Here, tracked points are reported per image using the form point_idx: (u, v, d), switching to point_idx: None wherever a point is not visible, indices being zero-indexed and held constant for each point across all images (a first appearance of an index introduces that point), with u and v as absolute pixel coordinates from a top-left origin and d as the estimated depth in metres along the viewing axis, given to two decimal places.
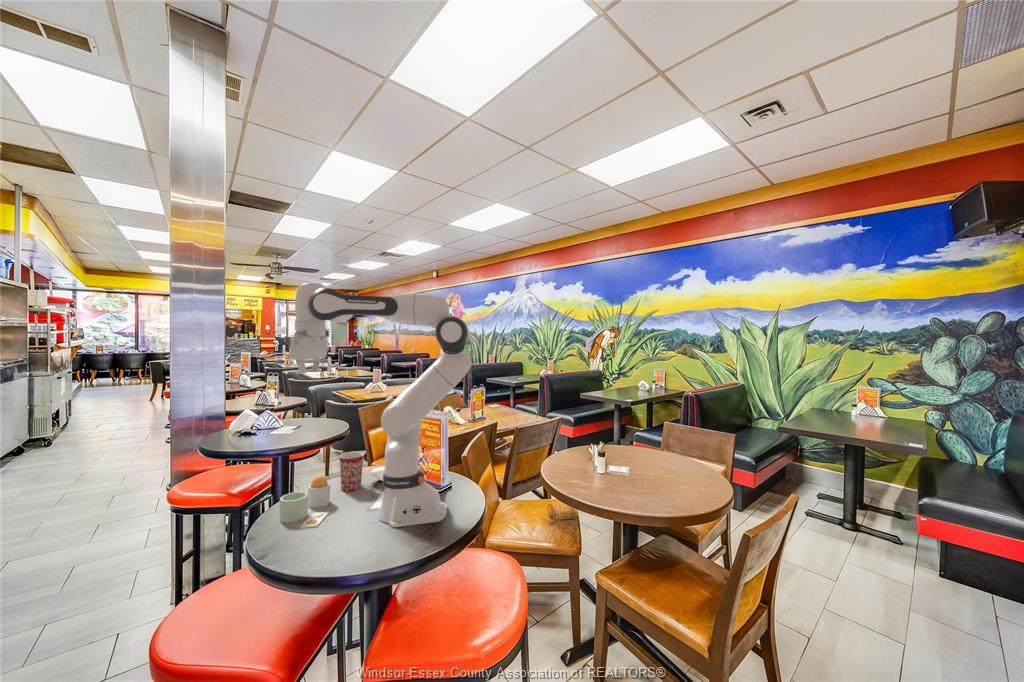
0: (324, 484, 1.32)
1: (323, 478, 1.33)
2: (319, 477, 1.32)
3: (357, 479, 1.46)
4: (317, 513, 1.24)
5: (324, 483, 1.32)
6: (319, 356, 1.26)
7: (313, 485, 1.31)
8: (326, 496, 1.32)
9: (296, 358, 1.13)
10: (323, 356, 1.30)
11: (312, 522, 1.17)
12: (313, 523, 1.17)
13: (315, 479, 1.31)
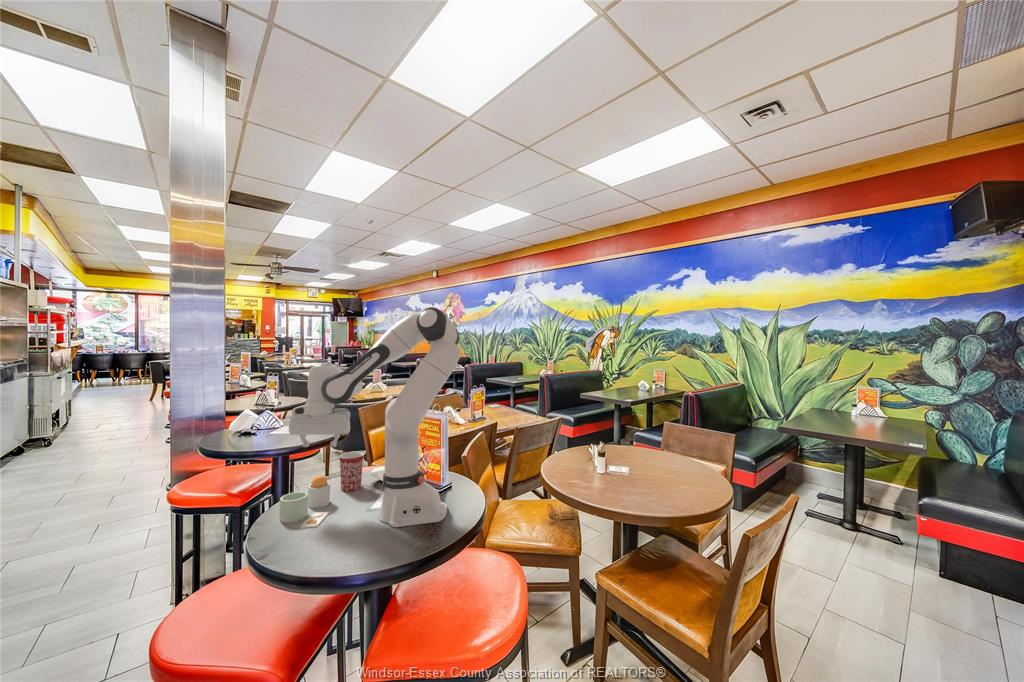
0: (324, 484, 1.32)
1: (323, 478, 1.33)
2: (319, 477, 1.32)
3: (357, 479, 1.46)
4: (317, 513, 1.24)
5: (324, 483, 1.32)
6: None
7: (313, 485, 1.31)
8: (326, 496, 1.32)
9: None
10: None
11: (312, 522, 1.17)
12: (313, 523, 1.17)
13: (315, 479, 1.31)
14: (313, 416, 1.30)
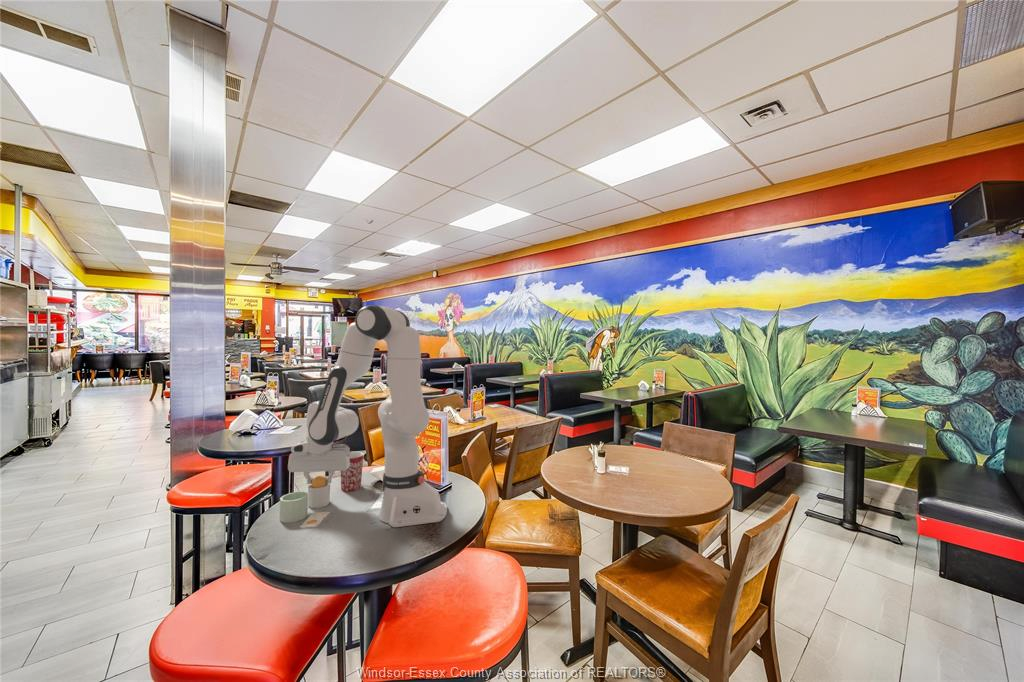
0: (324, 484, 1.32)
1: (323, 478, 1.33)
2: (319, 477, 1.32)
3: (357, 479, 1.46)
4: (317, 513, 1.24)
5: (324, 483, 1.32)
6: None
7: (313, 485, 1.31)
8: (326, 496, 1.32)
9: (347, 468, 1.34)
10: None
11: (312, 522, 1.17)
12: (313, 523, 1.17)
13: (315, 479, 1.31)
14: (312, 453, 1.30)
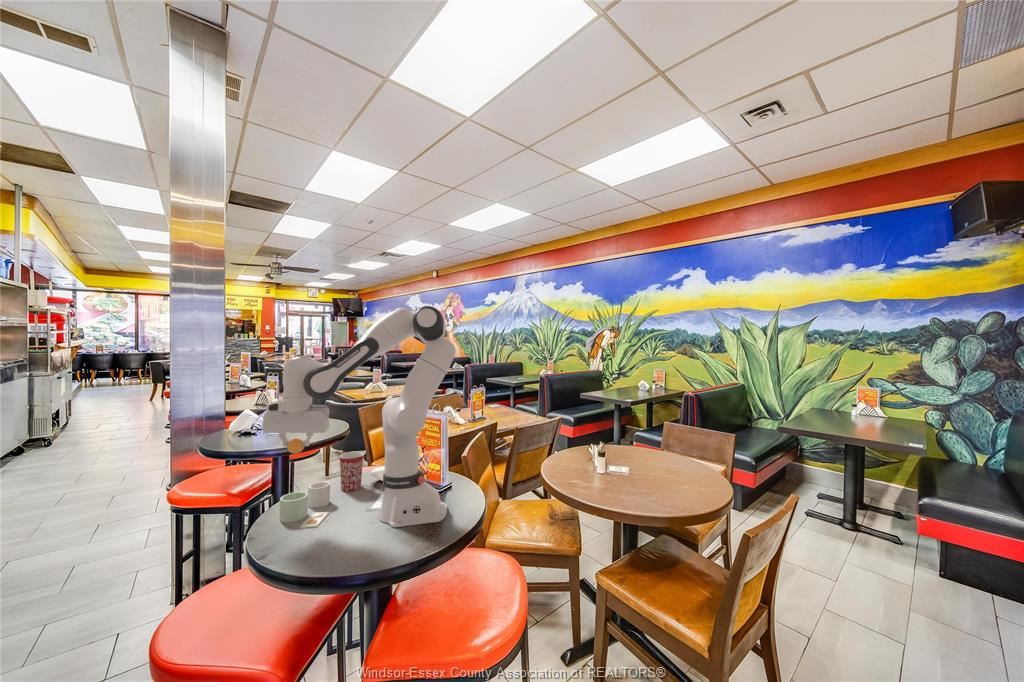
0: (301, 447, 1.22)
1: (300, 441, 1.23)
2: (296, 439, 1.23)
3: (357, 479, 1.46)
4: (317, 513, 1.24)
5: (301, 446, 1.23)
6: None
7: (289, 447, 1.21)
8: (326, 496, 1.32)
9: None
10: None
11: (312, 522, 1.17)
12: (313, 523, 1.17)
13: (291, 441, 1.22)
14: (288, 413, 1.21)
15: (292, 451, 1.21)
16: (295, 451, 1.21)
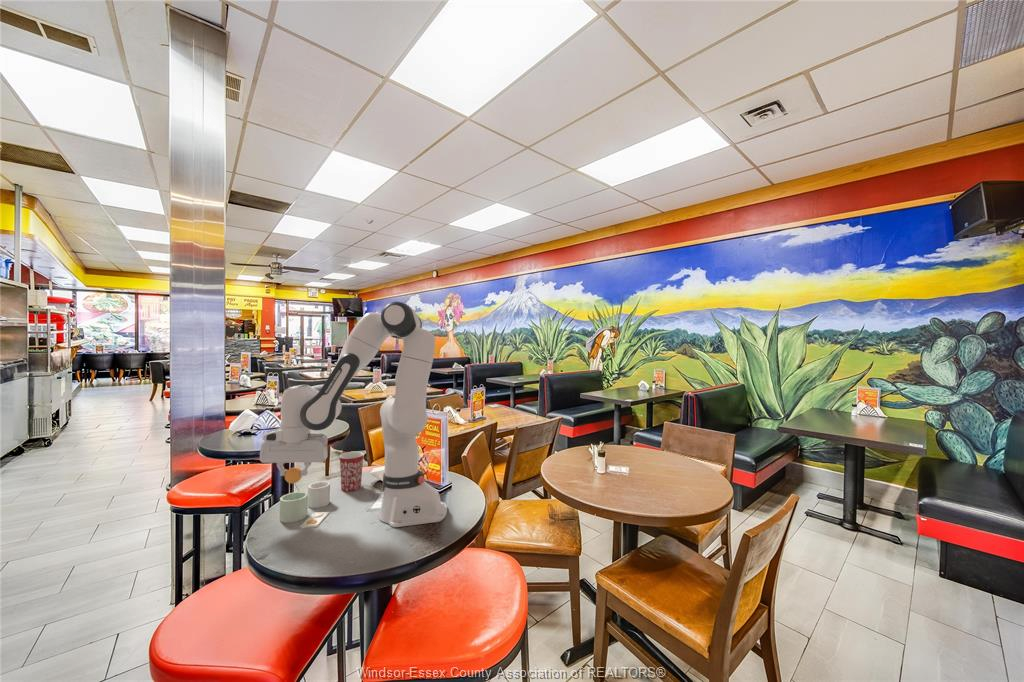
0: (299, 477, 1.22)
1: (298, 470, 1.22)
2: (293, 469, 1.22)
3: (357, 479, 1.46)
4: (317, 513, 1.24)
5: (299, 475, 1.22)
6: None
7: (286, 477, 1.20)
8: (326, 496, 1.32)
9: None
10: None
11: (312, 522, 1.17)
12: (313, 523, 1.17)
13: (289, 471, 1.21)
14: (286, 443, 1.20)
15: (290, 481, 1.20)
16: (293, 481, 1.21)
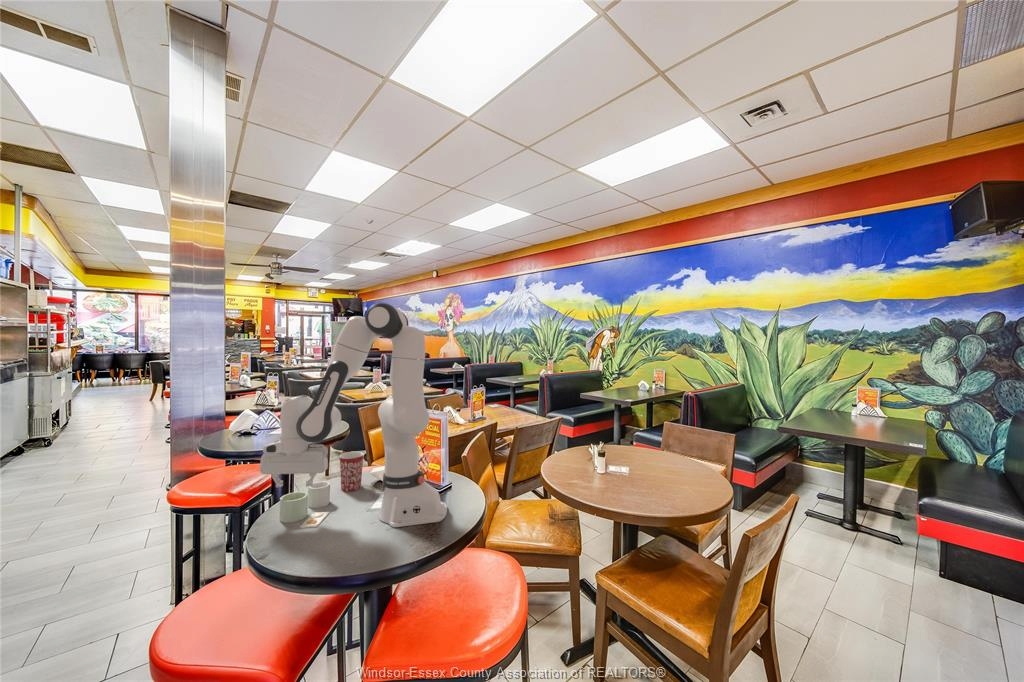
0: None
1: None
2: None
3: (357, 479, 1.46)
4: (317, 513, 1.24)
5: None
6: None
7: None
8: (326, 496, 1.32)
9: None
10: None
11: (312, 522, 1.17)
12: (313, 523, 1.17)
13: None
14: (286, 454, 1.20)
15: None
16: None
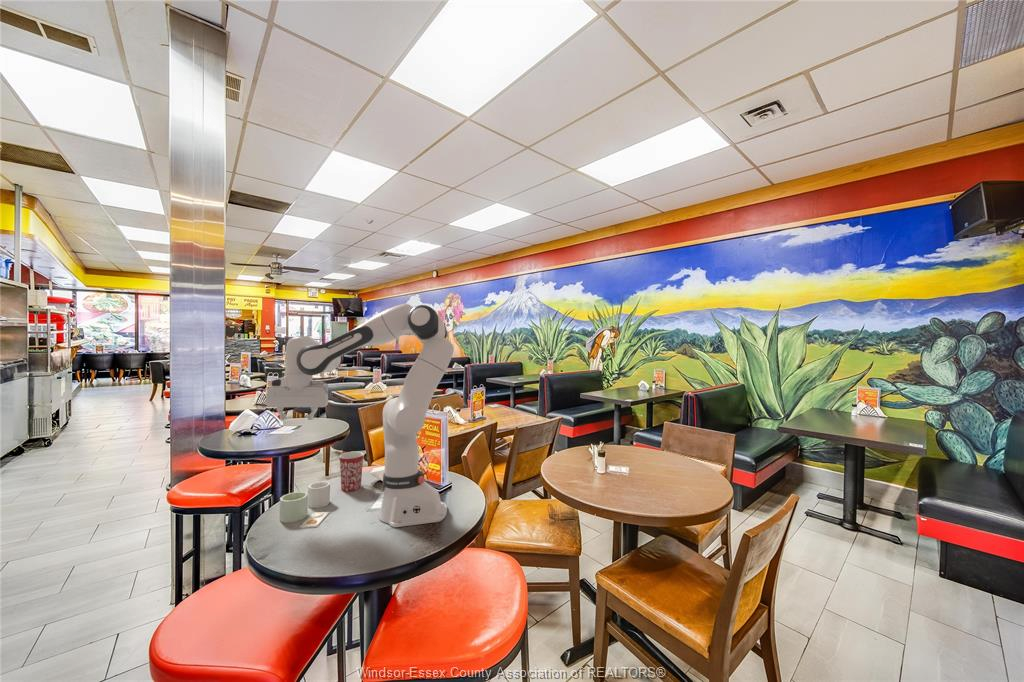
0: None
1: None
2: None
3: (357, 479, 1.46)
4: (317, 513, 1.24)
5: None
6: None
7: None
8: (326, 496, 1.32)
9: (326, 405, 1.34)
10: None
11: (312, 522, 1.17)
12: (313, 523, 1.17)
13: None
14: (290, 388, 1.30)
15: None
16: None
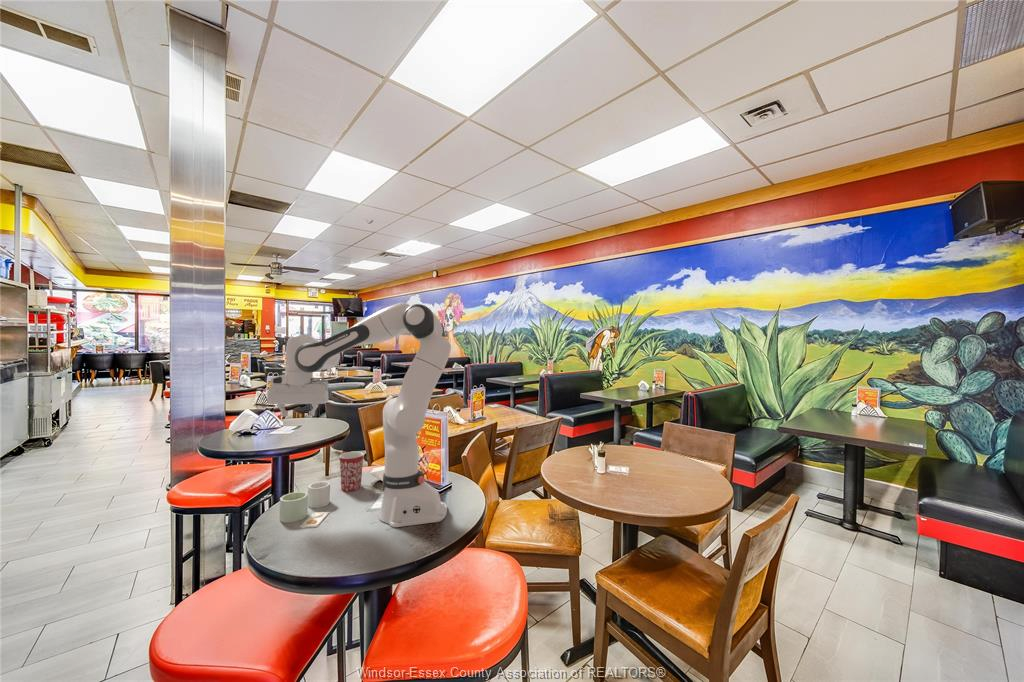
0: None
1: None
2: None
3: (357, 479, 1.46)
4: (317, 513, 1.24)
5: None
6: None
7: None
8: (326, 496, 1.32)
9: (326, 402, 1.37)
10: None
11: (312, 522, 1.17)
12: (313, 523, 1.17)
13: None
14: (291, 385, 1.33)
15: None
16: None
